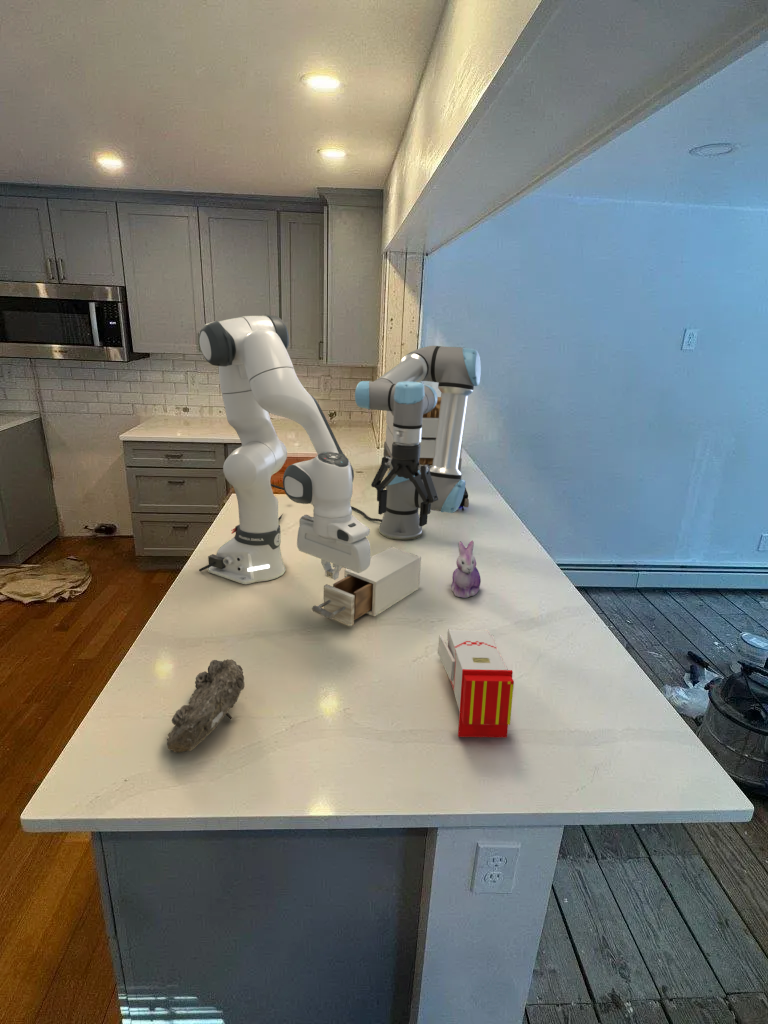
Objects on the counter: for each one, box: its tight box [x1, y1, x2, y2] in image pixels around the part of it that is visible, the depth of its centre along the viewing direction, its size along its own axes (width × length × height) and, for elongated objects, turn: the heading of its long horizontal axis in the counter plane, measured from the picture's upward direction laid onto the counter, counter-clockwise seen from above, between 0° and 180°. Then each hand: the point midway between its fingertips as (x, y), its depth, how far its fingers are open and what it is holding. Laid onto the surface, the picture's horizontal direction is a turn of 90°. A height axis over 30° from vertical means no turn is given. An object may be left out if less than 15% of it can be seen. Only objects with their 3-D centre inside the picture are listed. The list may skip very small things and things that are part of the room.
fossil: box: [166, 658, 245, 754], centre depth 106 cm, size 22×10×15 cm
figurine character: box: [458, 486, 470, 512], centre depth 229 cm, size 7×8×15 cm
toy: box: [437, 628, 515, 738], centre depth 117 cm, size 12×13×30 cm
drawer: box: [311, 575, 373, 627], centre depth 145 cm, size 25×9×8 cm, turn 143°
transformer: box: [383, 392, 466, 472], centre depth 268 cm, size 34×33×41 cm
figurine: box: [450, 540, 482, 599], centre depth 158 cm, size 9×10×15 cm
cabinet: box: [344, 546, 422, 617], centre depth 155 cm, size 21×10×10 cm, turn 143°
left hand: (331, 577), depth 135 cm, fingers closed
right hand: (402, 519), depth 155 cm, fingers open, 13 cm apart
